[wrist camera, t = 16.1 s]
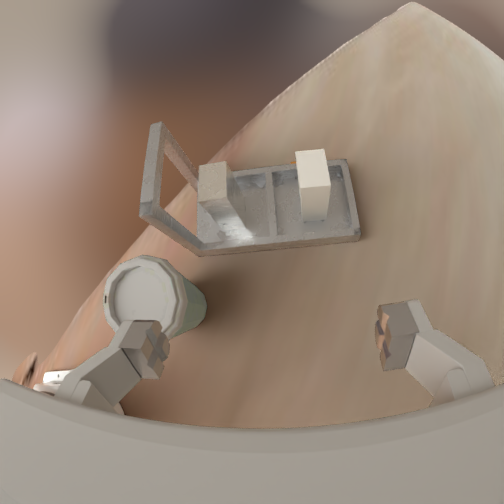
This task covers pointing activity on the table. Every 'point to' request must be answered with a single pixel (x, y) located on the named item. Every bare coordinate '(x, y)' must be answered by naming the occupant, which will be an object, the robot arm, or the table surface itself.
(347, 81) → the table surface
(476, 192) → the table surface
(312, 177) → the cream rectangular block
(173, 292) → the disposable coffee cup
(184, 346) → the table surface
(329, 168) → the rack
